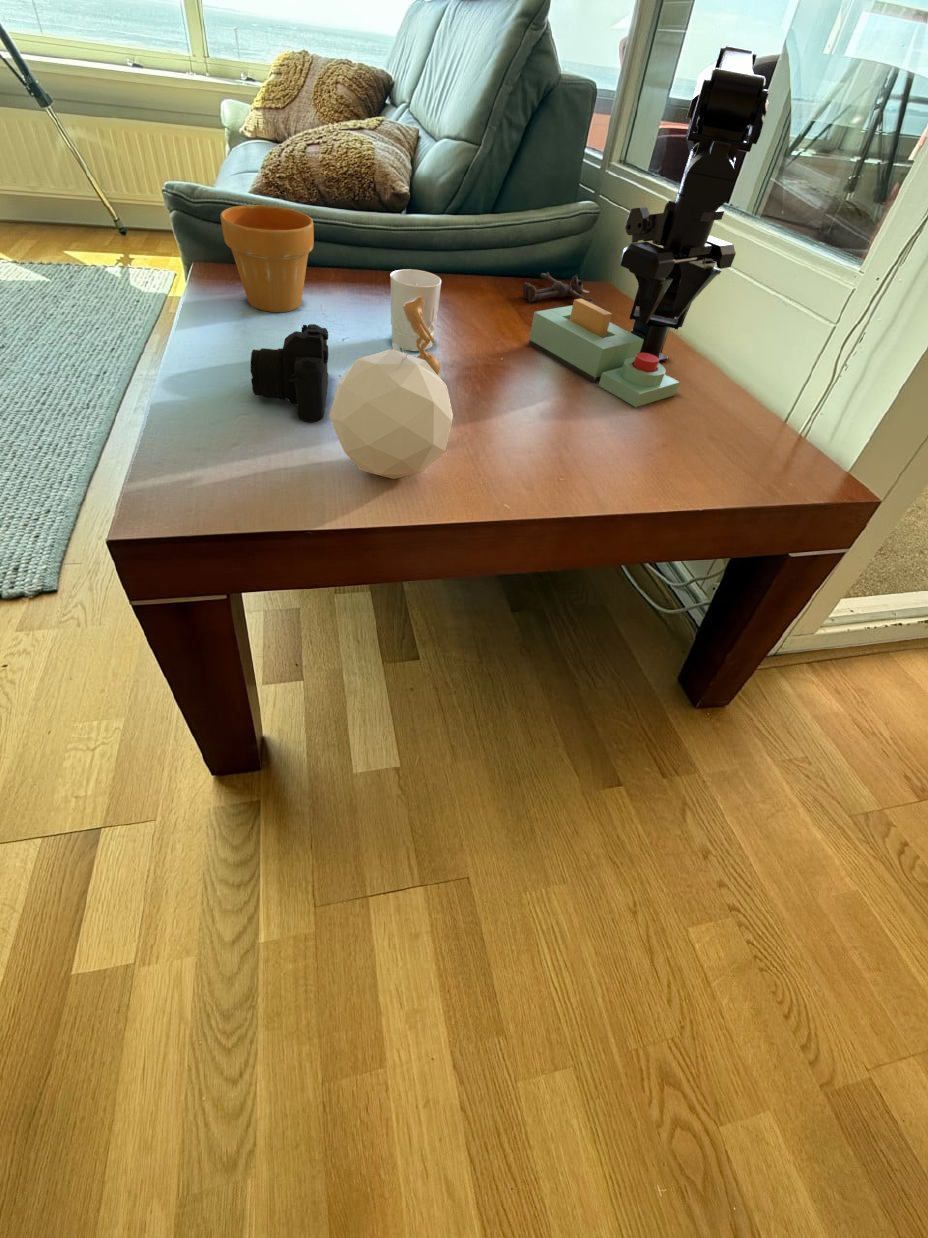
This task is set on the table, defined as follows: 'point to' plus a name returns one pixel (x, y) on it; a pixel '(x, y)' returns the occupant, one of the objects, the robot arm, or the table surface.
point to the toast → (590, 317)
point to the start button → (646, 362)
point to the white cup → (408, 289)
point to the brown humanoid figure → (555, 289)
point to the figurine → (421, 331)
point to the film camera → (295, 372)
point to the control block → (638, 384)
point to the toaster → (581, 343)
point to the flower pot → (269, 253)
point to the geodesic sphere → (392, 414)
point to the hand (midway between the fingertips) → (659, 319)
